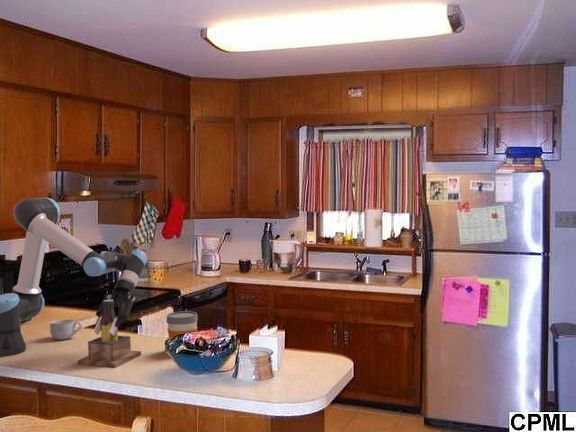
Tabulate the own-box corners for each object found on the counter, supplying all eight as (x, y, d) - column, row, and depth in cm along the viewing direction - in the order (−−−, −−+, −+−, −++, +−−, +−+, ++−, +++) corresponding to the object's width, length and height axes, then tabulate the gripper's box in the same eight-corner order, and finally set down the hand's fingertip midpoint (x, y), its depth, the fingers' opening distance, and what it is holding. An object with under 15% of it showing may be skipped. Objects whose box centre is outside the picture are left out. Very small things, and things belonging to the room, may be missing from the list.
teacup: (45, 341, 275) (44, 323, 274) (60, 335, 285) (59, 317, 285) (73, 342, 271) (72, 324, 271) (87, 336, 282) (86, 318, 281)
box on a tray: (78, 364, 237) (77, 343, 237) (105, 352, 253) (104, 332, 253) (115, 367, 232) (114, 346, 231) (141, 355, 248) (140, 335, 247)
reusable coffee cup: (195, 345, 261) (193, 309, 260) (202, 352, 249) (200, 315, 248) (165, 348, 256) (163, 312, 255) (170, 356, 244) (169, 319, 244)
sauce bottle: (113, 353, 239) (111, 302, 237) (98, 352, 240) (96, 302, 239) (121, 348, 245) (119, 298, 244) (106, 348, 246) (104, 298, 245)
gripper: (150, 290, 252) (129, 339, 238) (110, 288, 259) (87, 336, 244) (142, 279, 247) (120, 329, 233) (102, 277, 254) (78, 326, 239)
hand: (103, 333), depth 239 cm, fingers closed on sauce bottle, 6 cm apart
